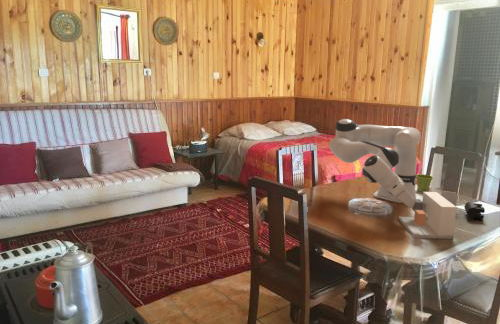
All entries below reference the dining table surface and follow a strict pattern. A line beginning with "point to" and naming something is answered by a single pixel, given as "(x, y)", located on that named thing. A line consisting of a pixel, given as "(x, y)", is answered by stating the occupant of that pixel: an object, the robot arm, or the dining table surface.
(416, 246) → the dining table surface
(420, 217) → the orange thick block
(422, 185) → the plant pot
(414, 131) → the robot arm
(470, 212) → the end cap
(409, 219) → the plug console
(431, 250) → the dining table surface
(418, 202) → the grey plug
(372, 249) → the dining table surface
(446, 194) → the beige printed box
